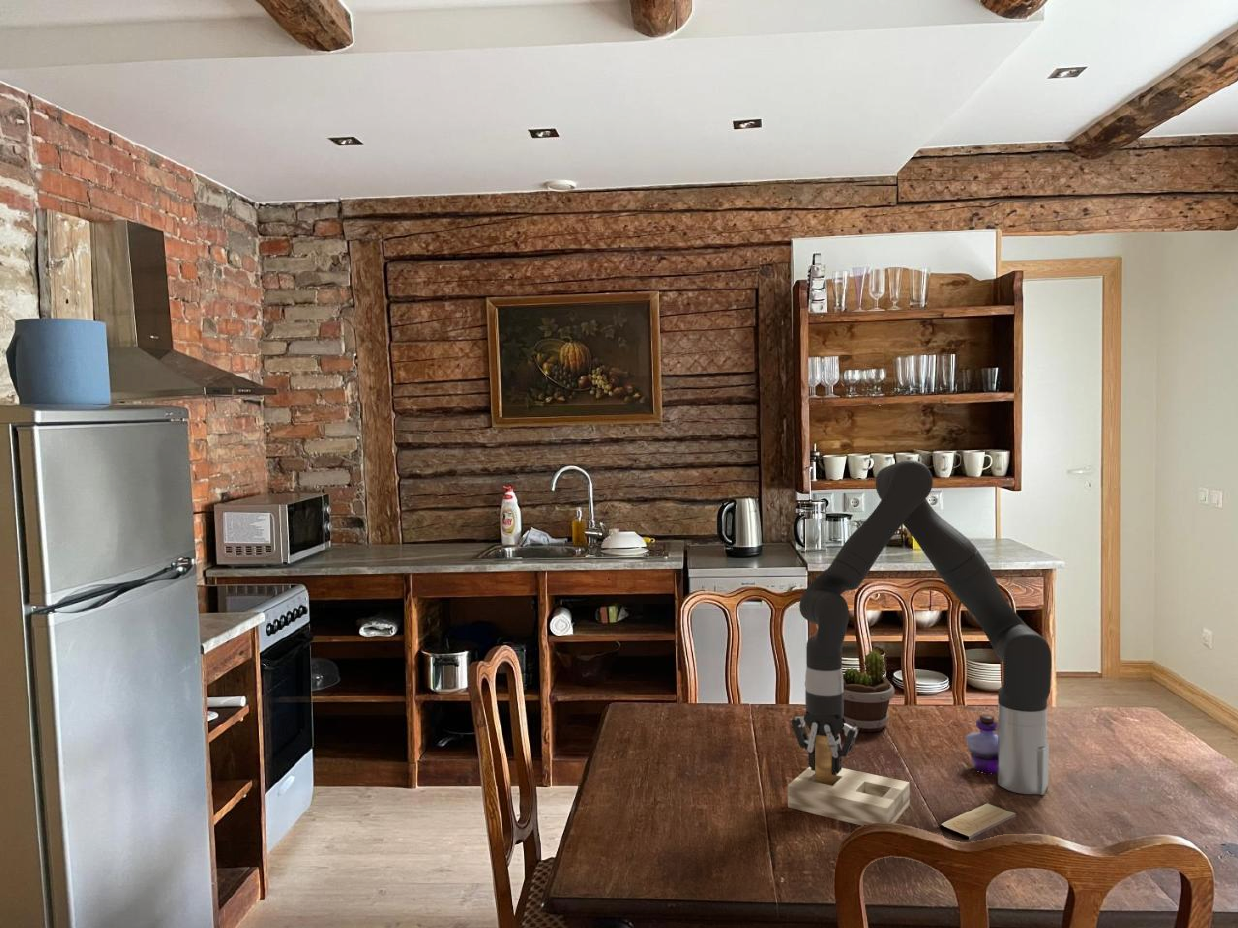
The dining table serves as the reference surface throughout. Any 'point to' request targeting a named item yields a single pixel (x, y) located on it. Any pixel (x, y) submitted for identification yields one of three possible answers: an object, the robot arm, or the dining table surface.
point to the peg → (823, 761)
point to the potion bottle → (984, 745)
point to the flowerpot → (867, 694)
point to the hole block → (851, 797)
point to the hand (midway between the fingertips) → (824, 771)
